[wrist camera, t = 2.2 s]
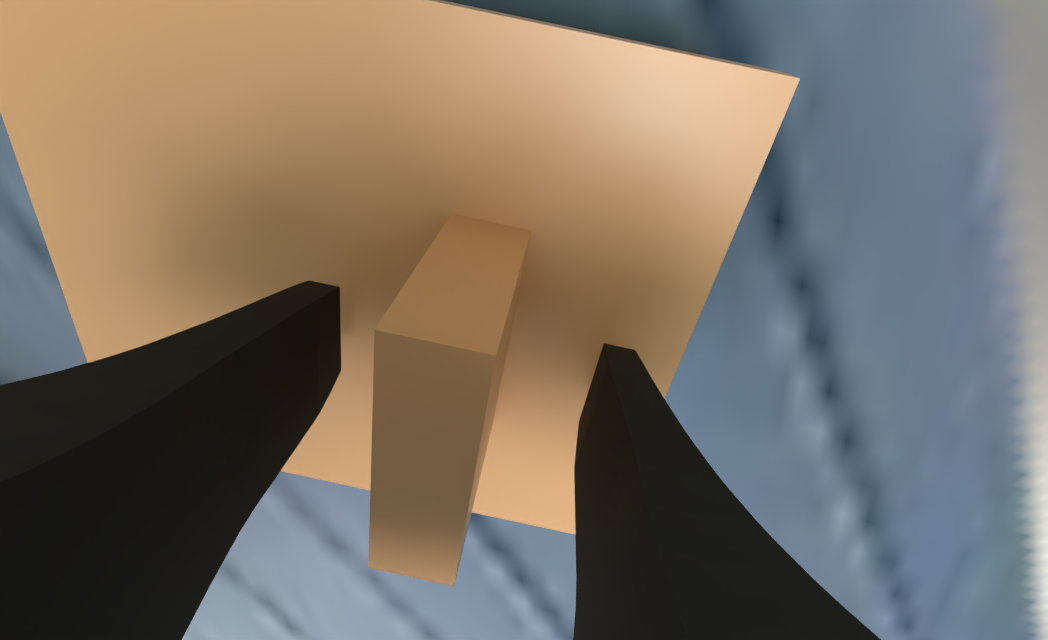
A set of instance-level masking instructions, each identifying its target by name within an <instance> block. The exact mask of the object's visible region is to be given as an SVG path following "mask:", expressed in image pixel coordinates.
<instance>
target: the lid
mask: <svg viewBox="0 0 1048 640" xmlns="http://www.w3.org/2000/svg"><path fill="white" fill-rule="evenodd" d="M799 80H800V78H798V77H795V76H793V75H790V74H788V73H785V72H782V71H777V70H772V69H767V68H763V67H758V66H753V65H748V64H744V63H739V62H734V61H729V60H725V59H720V58H715V57H710V56H706V55H701V54H696V53H691V52H687V51H682V50H677V49H672V48H667V47H663V46H658V45H653V44H648V43H644V42H639V41H634V40H629V39H625V38H620V37H615V36H610V35H606V34H601V33H596V32H591V31H587V30H582V29H577V28H572V27H567V26H563V25H558V24H553V23H548V22H544V21H539V20H534V19H529V18H525V17H520V16H515V15H510V14H506V13H501V12H496V11H491V10H487V9H482V8H477V7H472V6H467V5H463V4H458V3H453V2H448V1H444V0H0V113H1V115H2V118H3V121H4V124H5V127H6V130H7V133H8V135H9V138H10V141H11V144H12V147H13V150H14V153H15V156H16V158H17V161H18V164H19V167H20V170H21V173H22V176H23V179H24V181H25V184H26V187H27V190H28V193H29V196H30V199H31V202H32V204H33V207H34V210H35V213H36V216H37V219H38V222H39V225H40V227H41V230H42V233H43V236H44V239H45V242H46V245H47V248H48V250H49V253H50V256H51V259H52V262H53V265H54V268H55V271H56V273H57V276H58V279H59V282H60V285H61V288H62V291H63V294H64V296H65V299H66V302H67V305H68V308H69V311H70V314H71V317H72V319H73V322H74V325H75V328H76V331H77V334H78V337H79V340H80V342H81V345H82V348H83V351H84V354H85V357H86V360H87V363H89V362H93V361H96V360H100V359H103V358H106V357H110V356H113V355H116V354H119V353H122V352H125V351H128V350H131V349H134V348H137V347H140V346H143V345H146V344H149V343H152V342H154V341H157V340H160V339H162V338H165V337H168V336H170V335H173V334H176V333H178V332H181V331H184V330H186V329H189V328H192V327H194V326H197V325H200V324H202V323H205V322H207V321H210V320H212V319H215V318H217V317H220V316H222V315H224V314H227V313H229V312H232V311H234V310H236V309H239V308H241V307H244V306H246V305H248V304H251V303H253V302H255V301H258V300H260V299H262V298H265V297H267V296H270V295H272V294H274V293H277V292H279V291H282V290H284V289H286V288H289V287H291V286H294V285H297V284H299V283H302V282H305V281H309V280H310V281H314V282H319V283H324V284H329V285H333V286H338V287H340V322H341V372H340V374H339V376H338V378H337V380H336V382H335V385H334V387H333V389H332V391H331V393H330V395H329V397H328V399H327V401H326V402H325V404H324V406H323V408H322V410H321V412H320V414H319V415H318V417H317V418H316V420H315V421H314V423H313V424H312V426H311V427H310V429H309V430H308V432H307V433H306V434H305V436H304V437H303V439H302V440H301V442H300V443H299V445H298V446H297V448H296V449H295V451H294V452H293V453H292V455H291V456H290V458H289V459H288V461H287V462H286V463H285V465H284V466H283V468H282V469H281V471H283V472H287V473H292V474H297V475H301V476H306V477H310V478H315V479H320V480H324V481H329V482H334V483H338V484H343V485H348V486H352V487H357V488H362V489H366V490H370V530H369V568H372V569H377V570H381V571H386V572H391V573H395V574H400V575H404V576H409V577H414V578H418V579H423V580H428V581H432V582H437V583H442V584H446V585H451V586H454V584H455V580H456V576H457V571H458V567H459V563H460V559H461V555H462V551H463V546H464V542H465V538H466V534H467V530H468V526H469V521H470V517H471V513H472V512H473V513H478V514H483V515H487V516H492V517H496V518H501V519H506V520H510V521H515V522H520V523H524V524H529V525H534V526H538V527H543V528H548V529H552V530H557V531H562V532H566V533H571V534H576V530H575V482H574V465H575V454H576V444H577V435H578V425H579V419H580V416H581V413H582V410H583V407H584V404H585V401H586V397H587V394H588V391H589V388H590V385H591V382H592V379H593V375H594V372H595V369H596V366H597V363H598V360H599V356H600V353H601V350H602V347H603V344H604V343H605V344H610V345H615V346H619V347H624V348H629V349H634V350H636V352H637V354H638V355H639V357H640V359H641V360H642V362H643V364H644V365H645V367H646V369H647V371H648V372H649V374H650V376H651V377H652V379H653V381H654V382H655V384H656V386H657V387H658V389H659V391H660V392H661V394H662V396H663V397H664V398H665V396H666V394H667V391H668V389H669V387H670V384H671V382H672V380H673V377H674V375H675V373H676V370H677V368H678V365H679V363H680V361H681V358H682V356H683V354H684V351H685V349H686V347H687V344H688V342H689V340H690V337H691V335H692V332H693V330H694V328H695V325H696V323H697V321H698V318H699V316H700V314H701V311H702V309H703V307H704V304H705V302H706V299H707V297H708V295H709V292H710V290H711V288H712V285H713V283H714V281H715V278H716V276H717V274H718V271H719V269H720V266H721V264H722V262H723V259H724V257H725V255H726V252H727V250H728V248H729V245H730V243H731V241H732V238H733V236H734V233H735V231H736V229H737V226H738V224H739V222H740V219H741V217H742V215H743V212H744V210H745V208H746V205H747V203H748V200H749V198H750V196H751V193H752V191H753V189H754V186H755V184H756V182H757V179H758V177H759V175H760V172H761V170H762V167H763V165H764V163H765V160H766V158H767V156H768V153H769V151H770V149H771V146H772V144H773V142H774V139H775V137H776V134H777V132H778V130H779V127H780V125H781V123H782V120H783V118H784V116H785V113H786V111H787V109H788V106H789V104H790V101H791V99H792V97H793V94H794V92H795V90H796V87H797V85H798V83H799Z"/></svg>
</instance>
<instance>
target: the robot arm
mask: <svg viewBox="0 0 1048 640" xmlns="http://www.w3.org/2000/svg"><path fill="white" fill-rule="evenodd" d="M340 372H341V322H340V287H338V286H333V285H329V284H324V283H319V282H314V281H310V280H309V281H305V282H302V283H299V284H297V285H294V286H291V287H289V288H286V289H284V290H282V291H279V292H277V293H274V294H272V295H270V296H267V297H265V298H262V299H260V300H258V301H255V302H253V303H251V304H248V305H246V306H244V307H241V308H239V309H236V310H234V311H232V312H229V313H227V314H224V315H222V316H220V317H217V318H215V319H212V320H210V321H207V322H205V323H202V324H200V325H197V326H194V327H192V328H189V329H186V330H184V331H181V332H178V333H176V334H173V335H170V336H168V337H165V338H162V339H160V340H157V341H154V342H152V343H149V344H146V345H143V346H140V347H137V348H134V349H131V350H128V351H125V352H122V353H119V354H116V355H113V356H110V357H106V358H103V359H100V360H96V361H93V362H89V363H86V364H83V365H79V366H76V367H72V368H69V369H65V370H62V371H58V372H54V373H51V374H46V375H42V376H38V377H34V378H30V379H26V380H21V381H17V382H13V383H9V384H5V385H1V386H0V640H182V638H183V636H184V634H185V632H186V630H187V628H188V626H189V624H190V622H191V621H192V619H193V617H194V615H195V613H196V611H197V609H198V607H199V605H200V603H201V602H202V600H203V598H204V596H205V594H206V592H207V590H208V588H209V586H210V584H211V582H212V581H213V579H214V577H215V575H216V573H217V572H218V570H219V568H220V566H221V564H222V563H223V561H224V559H225V557H226V555H227V554H228V552H229V550H230V548H231V546H232V545H233V543H234V541H235V539H236V537H237V536H238V534H239V532H240V530H241V529H242V527H243V526H244V524H245V522H246V521H247V519H248V518H249V516H250V514H251V513H252V511H253V510H254V508H255V507H256V505H257V504H258V502H259V501H260V499H261V498H262V497H263V495H264V494H265V492H266V491H267V489H268V488H269V487H270V485H271V484H272V482H273V481H274V479H275V478H276V476H277V475H278V474H279V472H280V471H281V469H282V468H283V466H284V465H285V463H286V462H287V461H288V459H289V458H290V456H291V455H292V453H293V452H294V451H295V449H296V448H297V446H298V445H299V443H300V442H301V440H302V439H303V437H304V436H305V434H306V433H307V432H308V430H309V429H310V427H311V426H312V424H313V423H314V421H315V420H316V418H317V417H318V415H319V414H320V412H321V410H322V408H323V406H324V404H325V402H326V401H327V399H328V397H329V395H330V393H331V391H332V389H333V387H334V385H335V382H336V380H337V378H338V376H339V374H340ZM574 482H575V530H576V573H577V582H576V612H575V626H574V639H573V640H880V639H879V638H878V637H877V636H876V635H875V634H874V633H872V632H871V631H870V630H869V629H868V628H867V627H866V626H864V625H863V624H862V623H861V622H860V621H859V620H858V619H857V618H855V617H854V616H853V615H852V614H851V613H850V612H849V611H847V610H846V609H845V608H844V607H843V606H842V605H841V604H840V603H839V602H837V601H836V600H835V599H834V598H833V597H832V596H831V595H830V594H829V593H828V592H827V591H826V590H825V589H823V588H822V587H821V586H820V585H819V584H818V583H817V582H816V581H815V580H814V579H813V578H812V577H811V576H810V575H809V574H808V573H807V572H806V571H805V570H804V569H803V568H802V567H801V566H800V565H799V564H798V563H797V562H796V561H795V560H794V559H793V558H792V557H791V556H790V555H789V554H788V553H787V552H786V551H785V550H784V549H783V548H782V547H781V546H780V545H779V544H778V543H777V542H776V541H775V540H774V539H773V538H772V537H771V536H770V535H769V534H768V533H767V532H766V531H765V530H764V529H763V527H762V526H761V525H760V524H759V523H758V522H757V521H756V520H755V519H754V518H753V516H752V515H751V514H750V513H749V512H748V511H747V509H746V508H745V507H744V506H743V505H742V504H741V503H740V501H739V500H738V499H737V498H736V497H735V496H734V495H733V493H732V492H731V491H730V490H729V489H728V487H727V486H726V485H725V484H724V483H723V481H722V480H721V479H720V478H719V476H718V475H717V474H716V473H715V471H714V470H713V469H712V467H711V466H710V465H709V463H708V462H707V461H706V459H705V458H704V457H703V455H702V454H701V453H700V451H699V450H698V449H697V447H696V446H695V445H694V443H693V442H692V440H691V439H690V437H689V436H688V435H687V433H686V432H685V430H684V429H683V427H682V426H681V424H680V423H679V421H678V419H677V418H676V416H675V415H674V413H673V412H672V410H671V409H670V407H669V406H668V404H667V402H666V401H665V399H664V397H663V396H662V394H661V392H660V391H659V389H658V387H657V386H656V384H655V382H654V381H653V379H652V377H651V376H650V374H649V372H648V371H647V369H646V367H645V365H644V364H643V362H642V360H641V359H640V357H639V355H638V354H637V352H636V350H634V349H629V348H624V347H619V346H615V345H610V344H605V343H604V344H603V347H602V350H601V353H600V356H599V360H598V363H597V366H596V369H595V372H594V375H593V379H592V382H591V385H590V388H589V391H588V394H587V397H586V401H585V404H584V407H583V410H582V413H581V416H580V419H579V425H578V435H577V444H576V454H575V465H574Z"/></svg>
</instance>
